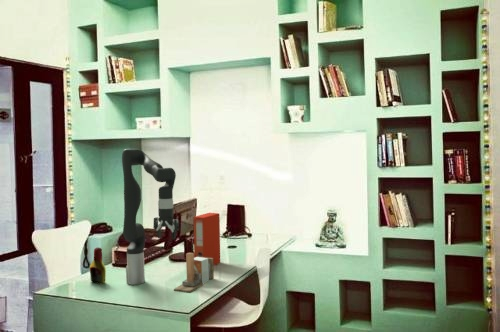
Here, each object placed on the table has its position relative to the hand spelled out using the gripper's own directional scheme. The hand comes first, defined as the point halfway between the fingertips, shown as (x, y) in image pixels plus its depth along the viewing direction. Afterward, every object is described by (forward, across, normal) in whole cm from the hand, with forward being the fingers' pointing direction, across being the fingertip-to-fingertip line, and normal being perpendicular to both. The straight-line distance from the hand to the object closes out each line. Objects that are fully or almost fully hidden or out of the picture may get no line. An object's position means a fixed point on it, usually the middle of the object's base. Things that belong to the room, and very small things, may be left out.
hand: (166, 238), depth 245 cm
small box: (+30, -4, -26) cm, 39 cm away
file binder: (+30, +8, -56) cm, 64 cm away
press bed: (+30, -4, -19) cm, 36 cm away
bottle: (+31, +49, -4) cm, 58 cm away
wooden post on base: (+28, -4, -17) cm, 33 cm away
